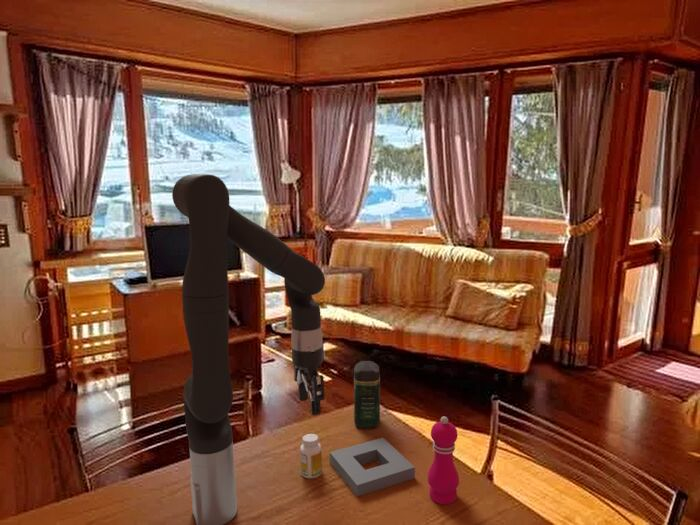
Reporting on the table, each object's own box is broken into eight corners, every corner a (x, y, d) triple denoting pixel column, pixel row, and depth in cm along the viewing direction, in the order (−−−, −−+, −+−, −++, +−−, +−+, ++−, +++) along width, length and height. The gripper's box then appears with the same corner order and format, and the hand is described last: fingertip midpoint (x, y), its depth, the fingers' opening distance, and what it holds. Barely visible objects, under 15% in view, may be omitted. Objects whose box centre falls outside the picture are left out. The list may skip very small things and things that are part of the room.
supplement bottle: (323, 467, 132) (322, 432, 130) (320, 479, 126) (319, 443, 125) (303, 466, 132) (301, 431, 130) (299, 478, 127) (297, 442, 125)
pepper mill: (435, 508, 115) (436, 426, 111) (422, 489, 122) (423, 411, 118) (464, 502, 117) (466, 421, 113) (450, 484, 123) (451, 407, 120)
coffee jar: (380, 429, 150) (380, 370, 147) (354, 430, 150) (353, 370, 147) (379, 414, 160) (379, 358, 156) (354, 414, 160) (353, 358, 157)
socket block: (357, 496, 119) (357, 485, 119) (329, 462, 134) (329, 452, 133) (414, 478, 126) (414, 467, 126) (382, 447, 140) (382, 437, 140)
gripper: (282, 338, 128) (285, 399, 131) (302, 356, 115) (305, 422, 118) (310, 334, 131) (313, 393, 134) (333, 351, 118) (335, 415, 121)
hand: (309, 406), depth 126 cm, fingers open, 8 cm apart
